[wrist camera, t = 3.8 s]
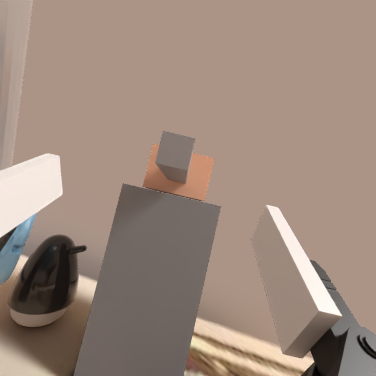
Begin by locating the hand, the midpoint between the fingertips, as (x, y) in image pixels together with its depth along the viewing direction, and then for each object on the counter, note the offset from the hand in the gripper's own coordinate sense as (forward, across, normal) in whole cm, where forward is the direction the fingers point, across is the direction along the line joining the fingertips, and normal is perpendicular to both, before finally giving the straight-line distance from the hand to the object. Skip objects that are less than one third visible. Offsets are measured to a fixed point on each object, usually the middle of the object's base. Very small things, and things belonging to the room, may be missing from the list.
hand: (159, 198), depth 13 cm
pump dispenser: (+8, -19, -36) cm, 41 cm away
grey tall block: (+5, 0, -33) cm, 34 cm away
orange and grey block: (+14, 0, -7) cm, 16 cm away
